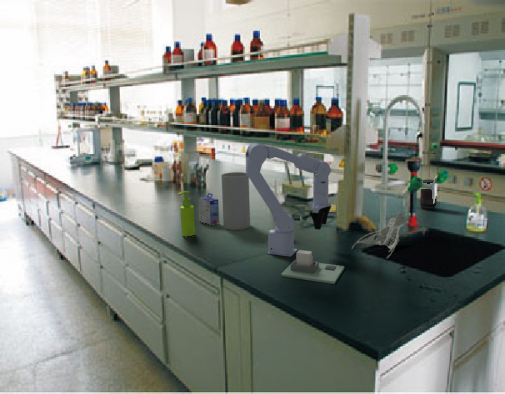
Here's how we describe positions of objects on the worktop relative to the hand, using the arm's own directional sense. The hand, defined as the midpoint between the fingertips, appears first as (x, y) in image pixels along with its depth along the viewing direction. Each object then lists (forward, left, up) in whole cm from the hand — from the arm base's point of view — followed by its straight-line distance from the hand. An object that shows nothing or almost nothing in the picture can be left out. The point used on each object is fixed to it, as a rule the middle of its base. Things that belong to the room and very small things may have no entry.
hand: (320, 226), depth 167 cm
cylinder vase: (-45, +17, -10) cm, 49 cm away
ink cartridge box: (-61, +19, -10) cm, 65 cm away
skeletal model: (+23, +12, -10) cm, 28 cm away
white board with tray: (+4, -23, -9) cm, 25 cm away
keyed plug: (+1, -23, -9) cm, 25 cm away
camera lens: (+35, +80, -10) cm, 88 cm away
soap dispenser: (-60, -2, -10) cm, 61 cm away
